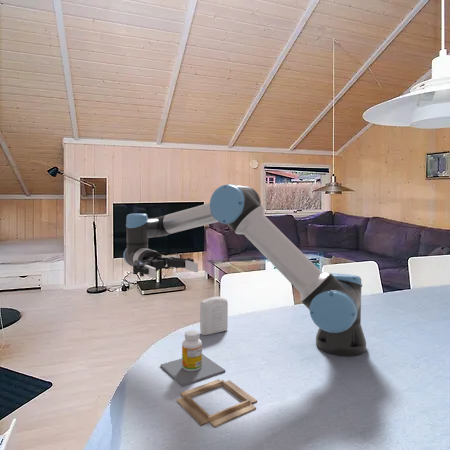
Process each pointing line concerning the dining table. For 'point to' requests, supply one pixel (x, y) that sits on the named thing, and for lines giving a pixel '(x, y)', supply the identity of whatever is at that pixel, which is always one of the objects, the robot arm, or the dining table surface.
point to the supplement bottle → (192, 351)
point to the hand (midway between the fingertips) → (176, 270)
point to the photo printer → (213, 315)
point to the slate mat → (192, 376)
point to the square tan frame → (223, 415)
